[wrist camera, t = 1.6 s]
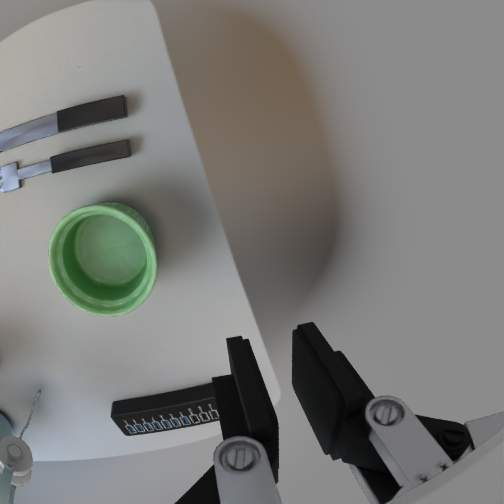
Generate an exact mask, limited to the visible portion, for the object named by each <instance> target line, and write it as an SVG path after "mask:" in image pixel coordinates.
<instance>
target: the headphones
mask: <svg viewBox="0 0 504 504" xmlns="http://www.w3.org/2000/svg"><path fill="white" fill-rule="evenodd" d="M39 395H40V390H38V392H37V395H36V397H35V400H34V404H33V407H32V411H31V414H30V417H29V420H28V422H27V424H26V426H25V427H24V428H23V430H22V432H21V435H20V437H19V438H18V437H15V436H7V437H5V438H3V439H2V440H1V441H0V472H1V477H0V504H13V500H14V493H15V489H16V486H23V485H25V484H27V483H28V481H29V480H30V477H31V467H32V461H33V458H32V453H31V450H30V448H29V446H28V445H27V444H26V443H25V442H24V441H23V440H22V439H21V437H22V434H23V432H24V430H25V429H26V428H27V426H28V424H29V422H30V419H31V416H32V413H33V409H34V406H35V403H36V400H38V399H39Z"/></svg>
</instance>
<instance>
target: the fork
mask: <svg viewBox="0 0 504 504" xmlns="http://www.w3.org/2000/svg"><path fill="white" fill-rule="evenodd" d="M126 157H131V151H130V141H129V140H123V141H118V142H113V143H108V144H103V145H98V146H94V147H89V148H85V149H80V150H76V151H72V152H68V153H64V154H60V155H56V156H53V157H50V160H48V161H44V162H41V163H37V164H34V165H30V166H27V167H24V168H21V169H19V167H18V162H14V163H11V164H9V165H6V166H3V167H0V169H1V170H0V174H1V176H2V178H0V183H3V187H0V192H1V191H4V193H5V192H8V191H12V190H15V189H18V188H21V182H20V180H22V179H25V178H29V177H32V176H36V175H39V174H43V173H47V172H51V171H52V173H56V172H60V171H65V170H69V169H73V168H77V167H82V166H86V165H91V164H96V163H100V162H105V161H110V160H116V159H121V158H126Z"/></svg>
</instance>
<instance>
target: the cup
mask: <svg viewBox="0 0 504 504" xmlns="http://www.w3.org/2000/svg"><path fill="white" fill-rule="evenodd" d="M7 436H12V429H11V426H10V423H9V422H8V420H7V419H6V418H5V416H4V415H3V414H2V413H0V441H1V440H2V439H3V438H5V437H7ZM0 477H1V472H0Z"/></svg>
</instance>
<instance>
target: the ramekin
mask: <svg viewBox="0 0 504 504" xmlns="http://www.w3.org/2000/svg"><path fill="white" fill-rule="evenodd" d="M48 261H49V268H50V272H51V275H52V277H53V280H54V282H55V284H56V286H57V287H58V289H59V291H60V292H61V293H62V294H63V296H64V297H65V298H66V299H67V300H68V301H70V302H71V303H72V304H73V305H75V306H76V307H78V308H79V309H81V310H83V311H85V312H87V313H90V314H93V315H98V316H105V317H113V316H119V315H123V314H126V313H128V312H130V311H132V310H134V309H136V308H137V307H138V306H139V305H141V304H142V303H143V302H144V301H145V300H146V298H147V297H148V296H149V294H150V293H151V291H152V289H153V287H154V284H155V281H156V277H157V269H158V263H157V255H156V250H155V241H154V236H153V234H152V231H151V229H150V227H149V225H148V224H147V222H146V221H145V219H144V218H143V217H142V216H141V215H140V214H139V213H138V212H136V211H135V210H133V209H132V208H130V207H128V206H126V205H124V204H120V203H116V202H103V203H98V204H95V205H89V206H84V207H81V208H78V209H76V210H74V211H72V212H71V213H69V214H68V215H67V216H65V217H64V218H63V219H62V220H61V222H60V223H59V224H58V225H57V227H56V228H55V230H54V232H53V234H52V237H51V240H50V244H49V249H48Z"/></svg>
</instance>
